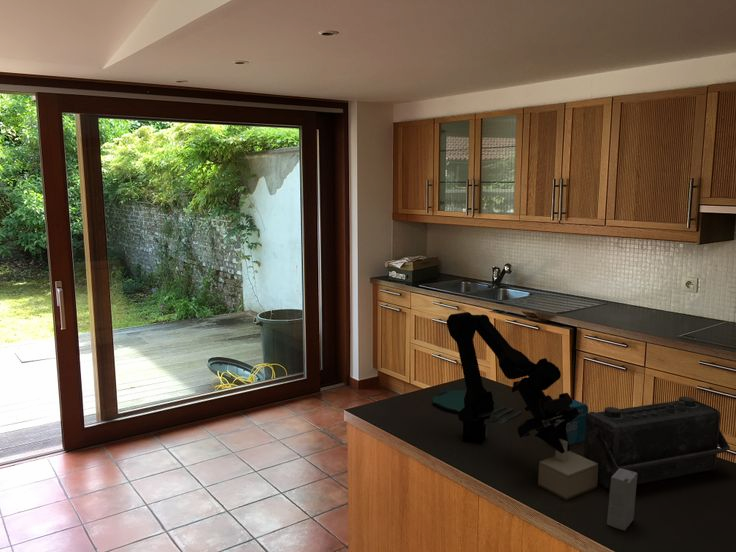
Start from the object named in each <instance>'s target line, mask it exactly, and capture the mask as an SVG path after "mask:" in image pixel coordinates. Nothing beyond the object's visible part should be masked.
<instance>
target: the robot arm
mask: <svg viewBox="0 0 736 552" xmlns="http://www.w3.org/2000/svg"><path fill="white" fill-rule="evenodd" d="M446 327H447V329H448V333H449V336H450V337H451V338H452V339H453V340H454V341H455V343H456V346H457V350H458V353H459V359H460V364H461V370H462V373H463V378H464V382H465V387H466V390H465V391H466V394H465V397H464V406H465V407H464V408H463V409H462V410H461V411H460V412H457V416H458V421H460V422H462V437H461V441H462V442H467V443H474V444H480V445H481V444H484V442H485V441H486V438H487V437H488V436H487V433H488V428H487V427H488V424H487V423H486V421H487V419H489V420H490V419H491V418H490V417H491V416H492V415H493V414H492V412H493V411H494V410H495V406H494V405H495V402H494V399H493V393H492V391H488V390H487V389H485V387H484V386H483V379H482V375H481V370H480V368H479V367H480V366H479V362H478V357H477V353H476V352H477V351H476V348H475V343H474V338H475V334H476V333H477V334H478V335H479V337H480V338H481V339H482V340H483V341H484V343H485V344H486V345H487V346H488V347H489V349H490V350H491V351H492V352H493V354H494V356H495V357H496V358H497V360H498V367H499V368H500V370H501V371H502V373H503V375H504V377H505V378H506V379H508V380H516V379H520V378H522V379H520V380H518V381H517V380H516V381H514V382H512V383H513V385H512V388H511V392H512V393H516V392H518V393H519V394H520V397H521V398H522V400H523V402H524V403H525V405H526V407H524V409H525V412H530V414H531V416H532V417H533V418H529V419H526V420H525V421H523V422H522V423H520V425H519V426H518V427H517V431H516V432H517V434H518V436H519V438H520V439H524V438H526V437H527V438H528V437H529V436H530V432H531V431H535V430H536V434H534V437H535V438H538V439H540V440H541V441H543V442H545V443H547V444H548V445H549V446H551V447H552V448H553V449H554V450H555V451H556V450H557V451H559V452H560V453H564V452H565V451H564V448H563V446H562V444H561V442H560V440H559V439H563V440H565V441H567V442H568V439H567V434H566V426H567V423H569V422H571V421H572V420H573V419H575V418H576V417H577V416H579V415H580V414H579V412H578V410H577V409H576V408H575V407H570V404H572V400H573V399H572V397H571V395H570V394H569V393H568V392H563V393H560V394H559V395H558V398H554V399H553V397H552V396H551V395H549V394H547V395H546V394H545V392H544V391H546V390H548V389H549V388H550V387H551V386H553V384H555V383H556V382H558V381H559V380H560V379H561V376H562V375H561V371H560V368H559V367H558V366H557V365H556V364H555V363H553V362H550V361H549V360H548V359H547V357H544V358H540V359H539V360H538V361H537V362H536V363H535V362H533V361H531V360H530V359H529V357H528V356H526V355H525V354H524V353H523V352H522V351H520V350H518V349H515V348H514V347H512V346H511V345H510V343H509V342H508V341H507V340H506V339H505V337H504V336H503V335H502V334H501V333H500V331H499V330H498V329H497V328H496V327H495V325H494V324H493V323H492V322H491V320H490V317H489V316H488V315H487V314H472V313H471V312H469V311H463V312H458V313H451V314H450V315H449V316H448V317H447V319H446ZM559 412H560V413H559ZM557 413H558V414H557ZM491 414H492V415H491ZM556 414H557V415H556ZM551 420H552V421H551ZM570 450H571V449H570V445H569V443H568V447H567V452H568V451H570Z"/></svg>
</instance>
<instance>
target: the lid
mask: <svg viewBox="0 0 736 552" xmlns="http://www.w3.org/2000/svg"><path fill="white" fill-rule="evenodd" d="M559 440H560V442H561V444H562V446H563V448H564V451H565V452H564V453H560V452H559V451H557V450H556V449H555V455H554V456H551V457H548V458H545V459H542V460H540V461H539V464H542V465H544V466H546V467H548V468H550V469H552V470H554V471H556V472H558V473H560V474H562V475H564V476H566V477H570V476H573V475H576V474H578V473H581V472H583V471H586V470H589V469H591V468H594V467H596V466H598V463H595V462H593V461H591V460H589V459H586V458H584V456H582V455H580V454H577V453H575V452H573V451H570V450H569V451H568V452H567V447H568V442H567V441H565V440H563V439H559Z"/></svg>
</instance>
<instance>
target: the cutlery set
mask: <svg viewBox="0 0 736 552" xmlns="http://www.w3.org/2000/svg"><path fill="white" fill-rule="evenodd" d="M466 391H467V390H461V389H460V390H459V389H457V390H456V389H455V390H453V389H452V390H449V391H444V392H441V393H439V394H437V395H435V396H433V398H432V400H431V401H432V404H433V406H434V405H437V406H438V407H439V408H442V409H444V410H445V411H446V410H447V411H450V412H455V413H458V412H460V411H461V410H462V409H463V408H464V407H465V406H464V397H465V394H466ZM505 409H507V407H506V406H503V407H501V408H499V409H494V411H493V412H492V414H491V416H490V419H493V418H492V417H497V418H496V420H490V421H489V420H488V419H486V421H487V422H490V423H491V422H493V423H495V422H496V423H495V425H496V426H499V424H500V423H501V425H503V424H505V422H506V423H508V421H509V420H512V419H515V418H516V417H518V416H520V415H522V414H523V411H522V410H519V411H518V412H515V414H513V415H511V416H509V417H504V418H503V417H502V416H504V415H506V414H508V413H510V412H513V411H514V410H515V408H513V407H511V408H509V409H508V410H506V411H504V412H502V413H501V414H499V415H495V414H496V413H498V412H500V411H502V410H505ZM515 416H516V417H515ZM501 417H502V418H501ZM500 418H501V420H500ZM511 418H512V419H511ZM497 420H498V421H497ZM497 423H499V424H497Z"/></svg>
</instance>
